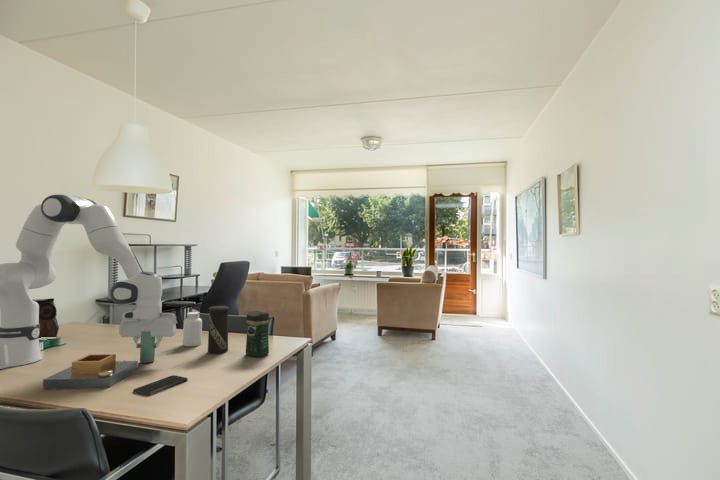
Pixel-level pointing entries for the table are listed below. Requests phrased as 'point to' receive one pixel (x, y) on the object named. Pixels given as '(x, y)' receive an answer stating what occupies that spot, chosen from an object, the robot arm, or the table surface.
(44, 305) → the owl
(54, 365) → the table surface
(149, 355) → the spout can
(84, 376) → the wooden box with base
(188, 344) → the pill bottle
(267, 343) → the coffee jar
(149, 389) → the phone
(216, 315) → the container
